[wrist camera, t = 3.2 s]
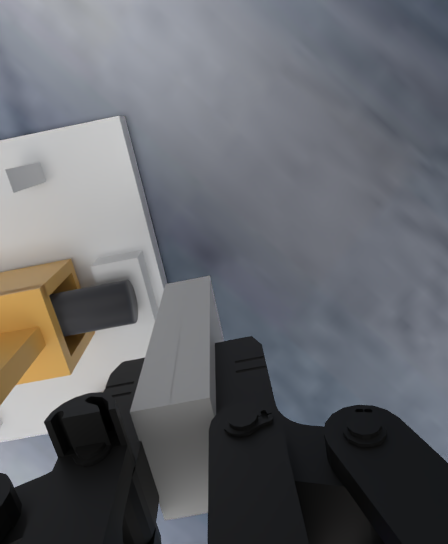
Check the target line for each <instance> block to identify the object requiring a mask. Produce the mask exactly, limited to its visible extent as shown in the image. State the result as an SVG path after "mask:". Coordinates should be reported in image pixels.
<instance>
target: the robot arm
mask: <svg viewBox="0 0 448 544" xmlns="http://www.w3.org/2000/svg"><path fill="white" fill-rule="evenodd" d="M105 387H106V389H104V391H103V393H102V392H97V393H88V394H84V395H81V396H77V397H75V398H73V399H71V400H69V401H67V402H65V403H63V404H61V405H60V406H59V407H57V408H56V409H55V410H54V411H52V412H51V413H50V414H49V416H48V417H47V418H46V419H45V421H44V424H45V426H46V429H47V431H48V434H49V436H50V439H51V441H52V444H53V446H54V448H55V451H56V453H57V456H58V459H57V462H56V464H55V466H54V468H53V470H52V472H50V473H48V474H46V475H44V476H41V477H39V478H36V479H34V480H32V481H29V482H27V483H24V484H22V485H20V486H17V487H15V488H14V486H13V484H12V482H11V480H10V479H9V477H8V476H7V475H6V474H3V473H0V544H161V535H160V532H159V529H158V526H157V523H156V518H157V511H158V504H160V507H161V510H162V513H163V516H164V519H165V520H170V519H176V518H182V517H187V516H193V515H199V514H205V513H208V544H448V463H447V462H446V461H445V460H444V459H443V458H442V457H441V456H440V455H439V454H438V453H437V452H435V451H434V450H433V449H432V448H431V447H430V446H429V445H428V444H427V443H426V442H425V441H424V440H423V439H421V438H420V437H419V436H418V435H417V434H416V433H415V432H414V431H413V430H412V429H411V428H410V427H408V426H407V425H406V424H405V423H404V422H403V421H402V420H401V419H400V418H399V417H397V416H396V415H394V414H392V413H391V412H389V411H388V410H385V409H382V408H379V407H375V406H369V405H355V406H350V407H345V408H342V409H341V410H339V411H337V412H335V413H333V414H332V415H331V416H330V418H329V419H328V420H327V421H326V423H325V427H322V426H309V425H303V424H299V423H296V422H293V421H291V420H289V419H287V418H286V417H284V416H283V415H282V414H281V413H280V412H279V411H278V409H277V407H276V404H275V400H274V396H273V392H272V387H271V383H270V379H269V374H268V370H267V366H266V361H265V357H264V353H263V348H262V344H260V343H259V342H258V341H257V340H256V339H254V338H253V337H252V336H250V337H244V338H239V339H234V340H228V341H224V338H223V333H222V329H221V324H220V319H219V315H218V310H217V306H216V301H215V297H214V292H213V287H212V283H211V278H210V276H205V277H200V278H195V279H189V280H184V281H179V282H174V283H169V284H165V288H164V291H163V295H162V299H161V302H160V306H159V309H158V313H157V316H156V320H155V324H154V327H153V331H152V334H151V338H150V342H149V345H148V349H147V352H146V356H145V358H140V359H134V360H129V361H124V362H122V363H121V364H120V365H119V366H118V367H117V368H116V369H115V370H114V371H113V372H112V373H111V374H110V376H109V379H108V381H107V384H106V386H105Z"/></svg>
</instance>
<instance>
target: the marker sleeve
mask: <svg viewBox="0 0 448 544" xmlns="http://www.w3.org/2000/svg"><path fill="white" fill-rule="evenodd" d="M80 288H81V287H80V284H79V281H78V278H77V275H76V272H75V269H74V266H73V263H72V260H71V259H67V260H62V261H56V262H51V263H46V264H41V265H36V266H31V267H26V268H21V269H15V270H10V271H5V272H0V405H1V404H2V403H3V401H4V400H5V399H6V397H7V396H8V395H9V393H10V392H11V391H12V389H13V388H14V387H15V386H16V385H19V384H24V383H30V382H35V381H41V380H46V379H52V378H57V377H63V376H68V375H71V374H72V372H73V370H74V369H75V367H76V365H77V363H78V362H79V360H80V358H81V357H82V355H83V353H84V351H85V350H86V348H87V346H88V344H89V343H90V341H91V339H92V337H93V336H94V334H95V331H92V332H86V333H81V334H76V335H70V336H65V337H64V336H63V333H62V330H61V327H60V325H59V322H58V319H57V316H56V314H55V311H54V308H53V305H52V302H51V300H50V297H49V296H50V295H51V294H54V293H59V292H64V291H70V290H75V289H80Z"/></svg>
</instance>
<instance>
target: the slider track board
mask: <svg viewBox="0 0 448 544" xmlns="http://www.w3.org/2000/svg"><path fill="white" fill-rule="evenodd" d="M67 259H71V260H72V263H73V266H74V269H75V272H76V275H77V278H78V281H79V284H80V287H81V288H80V289H75V290H70V291H64V292H59V293H54V294H51V295H50V296H49V297H50V300H51V302H52V305H53V308H54V311H55V314H56V316H57V319H58V322H59V325H60V327H61V330H62V333H63V336H64V337H65V336H70V335H76V334H81V333H86V332H92V331H95V334H94V336H93V337H92V339H91V341H90V343H89V344H88V346H87V348H86V350H85V351H84V353H83V355H82V357H81V358H80V360H79V362H78V363H77V365H76V367H75V369H74V370H73V372H72V374H71V375H68V376H63V377H57V378H52V379H46V380H41V381H35V382H30V383H24V384H19V385H16V386H15V387H14V388H13V389H12V391H11V392H10V393H9V395H8V396H7V397H6V399H5V400H4V401H3V403H2V404H1V405H0V442H4V441H10V440H16V439H21V438H27V437H33V436H38V435H44V434H48V431H47V429H46V426H45V424H44V421H45V419H46V418H47V417H48V416H49V414H50V413H51V412H52V411H54V410H55V409H56V408H57V407H59V406H60V405H61V404H63V403H65V402H67V401H69V400H71V399H73V398H75V397H77V396H81V395H84V394H88V393H97V392H102V393H103V391H104V389H106V387H105V386H106V384H107V381H108V379H109V376H110V374H111V373H112V372H113V371H114V370H115V369H116V368H117V367H118V366H119V365H120V364H121V363H122V362H124V361H129V360H134V359H140V358H145V356H146V352H147V349H148V345H149V342H150V338H151V334H152V331H153V327H154V324H155V320H156V316H157V313H158V309H159V306H160V302H161V299H162V295H163V291H164V288H165V284H168V283H167V279H166V275H165V272H164V268H163V264H162V260H161V256H160V252H159V248H158V244H157V240H156V236H155V232H154V228H153V225H152V221H151V217H150V213H149V209H148V205H147V201H146V197H145V193H144V189H143V185H142V181H141V177H140V174H139V170H138V166H137V162H136V158H135V154H134V150H133V146H132V142H131V138H130V134H129V130H128V127H127V123H126V119H125V116H115V117H110V118H106V119H101V120H96V121H91V122H86V123H82V124H77V125H72V126H67V127H62V128H58V129H53V130H48V131H43V132H38V133H34V134H29V135H24V136H19V137H14V138H10V139H5V140H0V272H5V271H10V270H15V269H21V268H26V267H31V266H36V265H41V264H46V263H51V262H56V261H62V260H67Z"/></svg>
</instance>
